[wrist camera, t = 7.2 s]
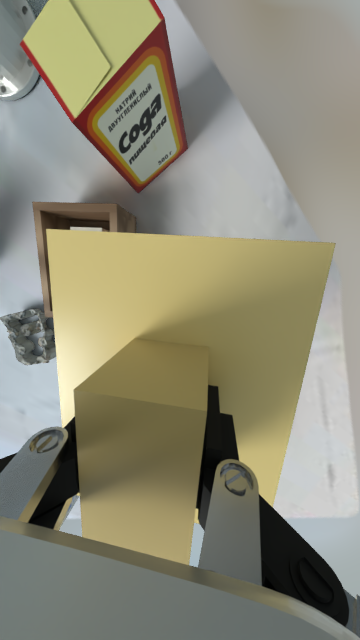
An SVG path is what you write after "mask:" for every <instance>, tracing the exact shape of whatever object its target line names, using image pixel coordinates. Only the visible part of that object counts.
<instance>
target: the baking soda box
mask: <svg viewBox="0 0 360 640" xmlns="http://www.w3.org/2000/svg"><path fill="white" fill-rule="evenodd" d="M20 46H21V47H22V49H23V50H24V52H25V53H26V54H27V56H28V57H29V59H30V60H31V62H32V63H33V65H34V66H35V68H36V69H37V71H38V72H39V74H40V75H41V77H42V78H43V80H44V81H45V83H46V84H47V86H48V87H49V89H50V90H51V92H52V93H53V95H54V96H55V98H56V99H57V101H58V102H59V104H60V105H61V107H62V108H63V110H64V111H65V113H66V114H67V116H68V117H69V119H70V120H71V121H72V123H73V124H74V125H75V126H76V127H77V128H78V129H79V130H80V131H81V133H82V134H83V135H84V136H85V137H86V138H87V139H88V140H89V141H90V142H91V143H92V144H93V145H94V146H95V148H96V149H97V150H98V151H99V152H100V153H101V154H102V155H103V156H104V157H105V158H106V159H107V160H108V162H109V163H110V164H111V165H112V166H113V167H114V168H115V169H116V170H117V171H118V172H119V173H120V174H121V176H122V177H123V178H124V179H125V180H126V181H127V182H128V183H129V184H130V185H131V186H132V187H133V188H134V189H135V191H136V192H137V193H139V192H140V191H141V190H143V189H144V188H145V187H146V186H147V185H148V184H149V183H150V182H151V181H153V180H154V179H155V178H156V177H157V176H158V175H159V174H160V173H161V172H163V171H164V170H165V169H166V168H167V167H168V166H169V165H170V164H171V163H173V162H174V161H175V160H176V159H177V158H178V157H179V156H180V155H181V154H183V153H184V152H185V151H186V150H187V149H188V146H187V141H186V135H185V130H184V124H183V119H182V113H181V108H180V102H179V97H178V91H177V85H176V80H175V74H174V69H173V63H172V58H171V52H170V47H169V41H168V35H167V30H166V24H165V19H164V16H163V14H162V13H161V11H160V9H159V7H158V6H157V4H156V2H155V0H48V2H47V3H46V5H45V6H44V8H43V9H42V11H41V12H40V14H39V15H38V17H37V19H36V20H35V22H34V23H33V25H32V26H31V28H30V29H29V31H28V32H27V34H26V35H25V37H24V38H23V40H22V41H21V43H20Z"/></svg>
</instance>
